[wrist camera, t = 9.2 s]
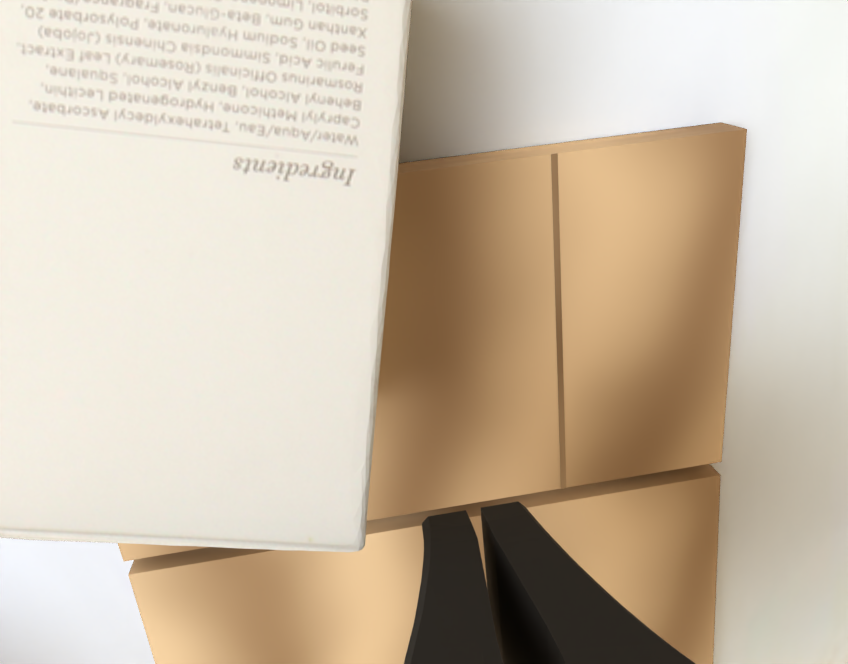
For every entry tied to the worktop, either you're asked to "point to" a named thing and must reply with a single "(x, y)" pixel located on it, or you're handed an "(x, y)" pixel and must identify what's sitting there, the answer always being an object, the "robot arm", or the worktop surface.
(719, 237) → the laid board
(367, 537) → the plank
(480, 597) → the robot arm
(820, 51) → the worktop surface
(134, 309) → the small box
